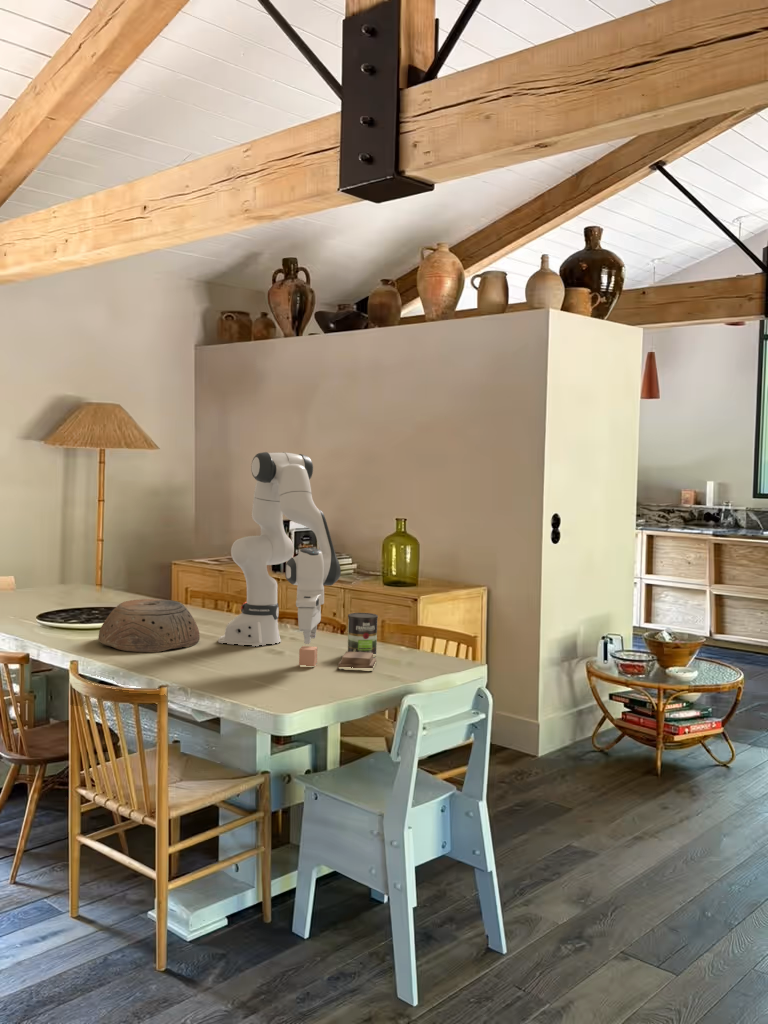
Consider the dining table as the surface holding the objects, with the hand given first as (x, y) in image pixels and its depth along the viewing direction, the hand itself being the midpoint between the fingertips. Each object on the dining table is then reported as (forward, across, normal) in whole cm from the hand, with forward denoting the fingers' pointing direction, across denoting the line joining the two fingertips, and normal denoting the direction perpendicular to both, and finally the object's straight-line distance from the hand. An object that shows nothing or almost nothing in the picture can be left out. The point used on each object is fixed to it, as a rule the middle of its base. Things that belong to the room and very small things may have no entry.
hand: (310, 640), depth 300 cm
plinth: (+9, -2, +15) cm, 18 cm away
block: (+8, 0, -1) cm, 9 cm away
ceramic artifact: (+7, -24, -63) cm, 68 cm away
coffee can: (+9, -20, +14) cm, 26 cm away
